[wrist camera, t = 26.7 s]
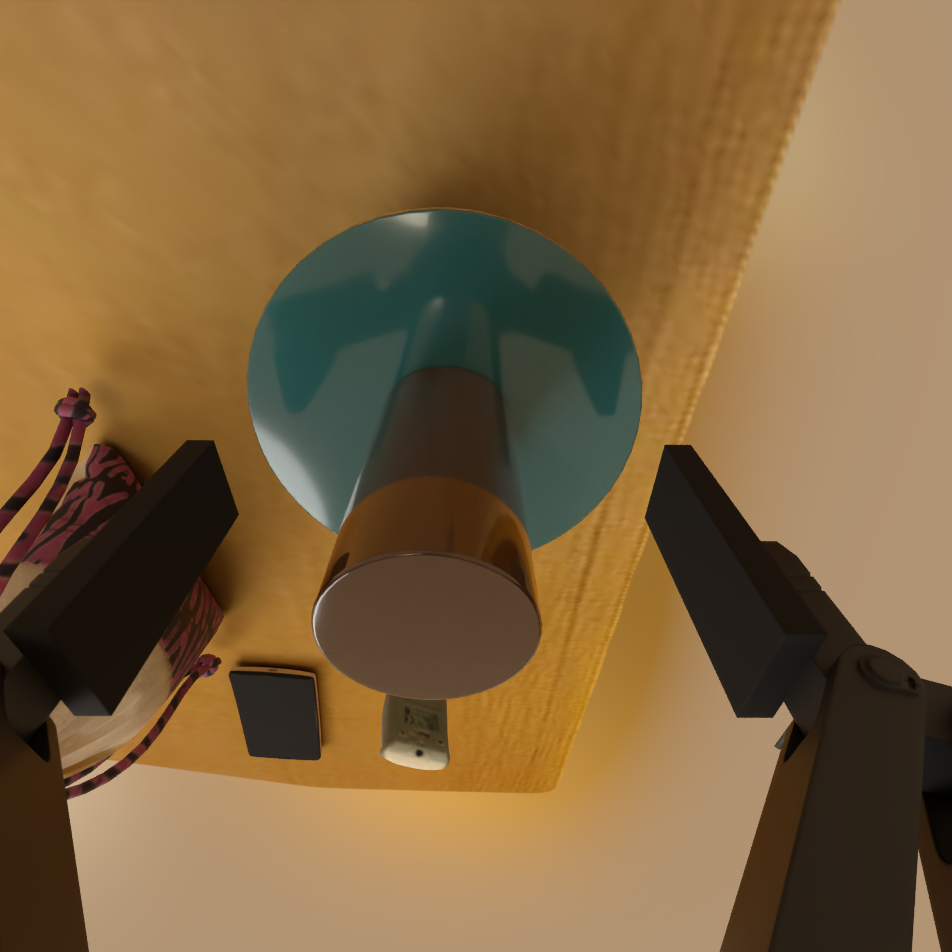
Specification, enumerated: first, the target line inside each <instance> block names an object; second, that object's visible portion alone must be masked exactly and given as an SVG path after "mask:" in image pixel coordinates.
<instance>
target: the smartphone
mask: <svg viewBox="0 0 952 952" xmlns="http://www.w3.org/2000/svg"><path fill="white" fill-rule="evenodd" d="M229 678H230V681H231V685H232V688H233V691H234V695H235V699H236V703H237V707H238V711H239V715H240V719H241V723H242V727H243V731H244V735H245V740H246V744H247V748H248V752H249V755H250V756H254V757H266V758H279V759H297V760H319V759H320V757H321V754H322V746H321V728H320V714H319V703H318V692H317V683H316V676H315V674H314V673H310V672H304V671H298V670H290V669H280V668H267V667H232V668H231V670H230V673H229Z"/></svg>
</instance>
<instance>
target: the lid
mask: <svg viewBox="0 0 952 952" xmlns="http://www.w3.org/2000/svg"><path fill="white" fill-rule="evenodd" d="M247 388H248V404H249V409H250V414H251V418H252V423H253V427H254V430H255V433H256V436H257V439H258V442H259V444H260V447H261V449H262V451H263V453H264V455H265V457H266V459H267V461H268V463H269V465H270V467H271V469H272V470H273V472H274V473H275V475H276V476H277V478H278V479H279V481H280V482H281V484H282V485H283V487H284V488H285V489H286V490H287V491H288V492H289V493H290V495H291V496H292V497H293V498H294V499H295V500H296V502H297V503H298V504H299V505H300V506H301V507H303V508H304V509H305V510H306V511H307V512H308V513H309V514H310V515H311V516H312V517H313V518H315V519H316V520H317V521H319V522H320V523H321V524H323V525H324V526H325V527H327V528H328V529H329V530H331V531H332V532H334V533H336V534H338V536H337V539H336V541H335V544H334V547H333V550H332V553H331V556H330V559H329V562H328V565H327V567H326V570H325V573H324V576H323V579H322V582H321V585H320V588H319V591H318V593H317V596H316V599H315V602H314V606H313V610H312V619H311V624H312V630H313V635H314V638H315V641H316V643H317V646H318V647H319V649H320V651H321V652H322V654H323V655H324V656H325V658H326V659H327V660H328V661H329V662H330V663H331V664H332V665H333V666H334V667H335V668H336V669H337V670H338V671H340V672H341V673H343V674H344V675H345V676H347V677H348V678H350V679H352V680H354V681H355V682H357V683H359V684H361V685H363V686H366V687H368V688H370V689H373V690H376V691H379V692H382V693H386V694H389V695H393V696H398V697H404V698H411V699H423V700H442V699H453V698H460V697H465V696H470V695H474V694H478V693H481V692H484V691H487V690H490V689H492V688H495V687H497V686H499V685H501V684H503V683H505V682H506V681H508V680H509V679H511V678H513V677H514V676H515V675H516V674H518V673H519V672H520V671H521V670H522V669H523V668H524V667H525V666H526V665H527V664H528V663H529V662H530V660H531V659H532V657H533V656H534V654H535V652H536V650H537V648H538V646H539V643H540V639H541V635H542V620H541V613H540V606H539V600H538V593H537V586H536V579H535V572H534V565H533V558H532V550H534V549H536V548H538V547H540V546H543V545H545V544H547V543H549V542H551V541H552V540H554V539H556V538H557V537H559V536H561V535H562V534H564V533H566V532H567V531H568V530H570V529H571V528H572V527H574V526H575V525H576V524H578V523H579V522H580V521H582V520H583V519H584V518H585V517H586V516H587V515H588V514H589V513H590V512H591V511H592V510H593V509H594V508H595V507H596V506H597V505H598V504H599V503H600V502H601V501H602V499H603V498H604V497H605V496H606V494H607V493H608V492H609V491H610V490H611V488H612V487H613V485H614V483H615V482H616V480H617V479H618V477H619V476H620V474H621V472H622V471H623V468H624V466H625V464H626V462H627V460H628V458H629V456H630V453H631V451H632V448H633V445H634V441H635V438H636V435H637V432H638V427H639V421H640V414H641V408H642V379H641V372H640V365H639V358H638V355H637V351H636V348H635V345H634V341H633V338H632V334H631V332H630V330H629V328H628V326H627V324H626V322H625V319H624V317H623V315H622V313H621V311H620V309H619V308H618V306H617V305H616V303H615V302H614V300H613V299H612V297H611V296H610V294H609V293H608V291H607V290H606V288H605V287H604V286H603V285H602V284H601V282H600V281H599V280H598V279H597V278H596V277H595V276H594V275H593V274H592V273H591V272H590V270H589V269H588V268H587V267H586V266H585V265H584V264H583V263H582V262H581V261H580V260H578V259H577V258H576V257H575V256H574V255H572V254H571V253H570V252H569V251H567V250H566V249H565V248H564V247H562V246H561V245H560V244H558V243H557V242H555V241H553V240H552V239H550V238H548V237H547V236H545V235H543V234H541V233H540V232H538V231H536V230H535V229H533V228H530V227H528V226H525V225H523V224H521V223H518V222H516V221H513V220H511V219H508V218H506V217H502V216H498V215H494V214H490V213H486V212H482V211H478V210H473V209H462V208H451V207H430V208H413V209H407V210H402V211H397V212H393V213H388V214H383V215H380V216H377V217H374V218H372V219H369V220H366V221H364V222H361V223H358V224H356V225H353V226H351V227H349V228H348V229H346V230H344V231H342V232H341V233H339V234H337V235H335V236H334V237H332V238H330V239H328V240H327V241H325V242H323V243H322V244H321V245H320V246H318V247H317V248H316V249H315V250H313V251H312V252H311V253H310V254H308V255H307V256H306V257H305V258H303V259H302V260H301V261H300V262H299V263H298V264H297V265H296V266H295V267H294V268H293V269H292V271H291V272H290V273H289V274H288V275H287V276H286V277H285V278H284V279H283V281H282V282H281V283H280V284H279V286H278V288H277V289H276V291H275V292H274V294H273V295H272V297H271V298H270V300H269V302H268V303H267V305H266V307H265V309H264V311H263V314H262V316H261V318H260V320H259V323H258V325H257V327H256V330H255V334H254V338H253V342H252V345H251V349H250V353H249V363H248V373H247Z"/></svg>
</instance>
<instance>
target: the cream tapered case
mask: <svg viewBox="0 0 952 952" xmlns="http://www.w3.org/2000/svg"><path fill="white" fill-rule="evenodd" d="M380 754H381V755H382V757H384V758H386V759H387V760H389V761H391V762H393V763H395V764H398V765H403V766H406V767H411V768H416V769H425V770H440V769H444V768H445V767H446V766H447V765H448V764H449V760H450V755H449V748H448V735H447V705H446V699H442V700H423V699H411V698H404V697H398V696H393V695H389V694H386V698H385V702H384V707H383V714H382V748H381V750H380Z"/></svg>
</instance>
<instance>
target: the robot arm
mask: <svg viewBox="0 0 952 952" xmlns="http://www.w3.org/2000/svg"><path fill="white" fill-rule="evenodd" d="M238 515H239V514H238V511H237V508H236V505H235V502H234V499H233V496H232V493H231V490H230V487H229V484H228V481H227V478H226V475H225V472H224V470H223V467H222V464H221V461H220V458H219V455H218V452H217V449H216V446H215V443H214V440H187V441H186V442H185V443H184V444H183V445H182V446H181V447H180V448H179V449H178V450H177V451H176V452H175V453H174V454H173V455H172V456H171V457H170V458H169V459H168V460H167V461H166V462H165V464H164V465H163V466H162V467H161V468H160V469H159V470H158V471H157V472H156V473H155V474H154V475H153V476H152V477H151V478H150V479H149V480H148V481H147V482H146V483H145V484H144V485H143V486H142V487H141V488H140V489H139V490H138V491H137V492H136V494H135V495H134V496H133V497H132V498H131V499H130V500H129V501H128V502H127V503H126V504H125V505H124V506H123V507H122V508H121V509H120V510H119V511H118V512H117V513H116V514H115V515H114V516H113V517H112V518H111V519H110V520H109V521H108V522H107V524H106V525H105V526H104V527H103V528H102V529H101V530H100V531H99V532H98V533H97V534H96V535H95V536H94V537H93V538H83V539H82V540H80V541H78V542H77V543H75V544H74V545H72V546H70V547H69V548H67V549H66V550H64V551H62V552H61V553H60V554H59V555H58V556H57V557H56V558H55V559H54V560H53V561H52V562H51V563H50V564H49V565H48V566H47V567H46V568H45V569H44V570H43V573H40V574H39V575H38V576H37V577H36V578H35V579H34V580H33V581H31V582H30V583H29V587H28V588H24V589H23V590H22V591H21V592H20V593H19V594H18V595H17V596H16V597H15V598H14V599H13V600H12V601H11V602H10V603H9V604H8V605H7V606H6V607H5V608H4V609H3V610H2V611H1V612H0V952H89V950H88V943H87V935H86V929H85V922H84V915H83V908H82V901H81V894H80V887H79V881H78V873H77V867H76V860H75V853H74V846H73V839H72V832H71V825H70V819H69V812H68V806H67V798H66V791H65V784H64V777H63V770H62V763H61V757H60V750H59V743H58V736H57V729H56V725H55V723H54V722H53V720H52V718H51V717H50V716H49V715H50V714H51V713H52V711H53V710H54V709H55V707H56V706H57V705H58V703H59V702H60V701H62V702H63V703H64V704H65V705H66V707H67V708H68V709H69V710H70V711H71V713H72V714H73V715H74V716H112V715H113V713H114V711H115V710H116V708H117V707H118V705H119V703H120V702H121V700H122V699H123V697H124V696H125V694H126V692H127V691H128V689H129V688H130V686H131V684H132V683H133V681H134V680H135V678H136V677H137V675H138V673H139V672H140V670H141V669H142V667H143V665H144V664H145V662H146V661H147V659H148V658H149V656H150V654H151V653H152V651H153V650H154V648H155V646H156V645H157V643H158V642H159V640H160V639H161V637H162V635H163V634H164V632H165V631H166V629H167V627H168V626H169V624H170V623H171V621H172V620H173V618H174V616H175V615H176V613H177V612H178V610H179V609H180V607H181V605H182V604H183V602H184V601H185V599H186V597H187V596H188V594H189V593H190V591H191V590H192V588H193V586H194V585H195V583H196V582H197V580H198V578H199V577H200V575H201V574H202V572H203V571H204V569H205V567H206V566H207V564H208V563H209V561H210V559H211V558H212V556H213V555H214V553H215V552H216V550H217V548H218V547H219V545H220V544H221V542H222V540H223V539H224V537H225V536H226V534H227V533H228V531H229V529H230V528H231V526H232V525H233V523H234V521H235V520H236V518H237V517H238ZM645 519H646V521H647V524H648V526H649V528H650V530H651V532H652V534H653V537H654V539H655V541H656V543H657V545H658V547H659V549H660V552H661V554H662V556H663V558H664V560H665V562H666V564H667V567H668V569H669V571H670V573H671V575H672V577H673V580H674V582H675V584H676V586H677V589H678V591H679V593H680V595H681V597H682V599H683V602H684V604H685V606H686V608H687V610H688V612H689V614H690V617H691V619H692V621H693V623H694V625H695V628H696V630H697V632H698V634H699V636H700V638H701V641H702V643H703V645H704V647H705V649H706V652H707V654H708V656H709V658H710V660H711V662H712V664H713V667H714V669H715V671H716V673H717V675H718V677H719V680H720V682H721V684H722V686H723V688H724V690H725V693H726V695H727V697H728V699H729V701H730V703H731V706H732V708H733V710H734V712H735V714H736V716H737V718H740V717H741V718H742V717H743V718H753V717H754V718H756V717H757V718H773V717H774V715H775V714H776V712H777V710H778V709H779V707H780V706H781V705H782V703H783V702H785V704H786V706H787V708H788V710H789V711H790V713H791V715H792V717H793V719H794V720H793V721H792V722H791V724H790V725H789V726H788V728H787V729H786V731H785V732H784V733H783V735H782V736H781V738H780V739H779V740H778V742H777V743H776V745H775V747H776V748H778V749H781V752H780V755H779V758H778V761H777V765H776V768H775V771H774V775H773V778H772V781H771V785H770V788H769V791H768V794H767V798H766V801H765V805H764V808H763V811H762V814H761V818H760V821H759V824H758V827H757V831H756V834H755V837H754V840H753V844H752V847H751V851H750V854H749V857H748V860H747V864H746V867H745V870H744V873H743V877H742V880H741V883H740V887H739V890H738V893H737V896H736V900H735V903H734V906H733V910H732V913H731V916H730V920H729V923H728V926H727V929H726V933H725V936H724V939H723V943H722V946H721V949H720V952H912V939H913V938H912V937H913V922H914V906H915V890H916V874H917V860H918V849H919V853H920V858H921V863H922V867H923V871H924V876H925V881H926V885H927V890H928V894H929V899H930V903H931V908H932V912H933V916H934V921H935V925H936V930H937V934H938V939H939V944H940V948H941V952H952V687H951V686H947V685H944V684H940V683H936V682H932V681H928V680H925V679H921V678H920V677H919V676H918V674H917V673H916V672H915V671H914V670H913V669H912V668H911V667H910V666H909V665H907V664H906V663H905V662H904V661H903V660H901V659H900V658H898V657H896V656H895V655H893V654H891V653H889V652H888V651H886V650H883V649H880V648H877V647H874V646H871V645H867V644H866V643H865V642H864V641H863V640H862V638H861V637H860V636H859V634H858V633H857V632H856V631H855V629H854V628H853V627H852V626H851V624H850V623H849V622H848V620H847V619H846V618H845V617H844V615H843V614H842V613H841V612H840V611H839V609H838V608H837V607H836V605H835V604H834V603H833V601H832V600H831V599H830V598H829V596H828V595H827V594H826V593H825V591H822V590H821V586H820V585H819V584H818V583H817V581H816V580H815V579H814V577H811V576H810V572H809V571H808V570H807V568H806V567H805V566H804V565H803V563H802V562H801V561H800V559H799V558H798V557H797V556H796V555H795V554H793V553H792V552H790V551H789V550H788V549H786V548H785V547H784V546H782V545H781V544H780V543H778V542H777V541H760V540H759V538H758V537H757V536H756V534H755V533H754V532H753V530H752V529H751V527H750V526H749V525H748V523H747V522H746V520H745V519H744V518H743V517H742V515H741V514H740V512H739V511H738V509H737V508H736V507H735V505H734V504H733V503H732V501H731V500H730V498H729V497H728V496H727V494H726V493H725V491H724V490H723V489H722V487H721V486H720V485H719V483H718V482H717V480H716V479H715V478H714V476H713V475H712V474H711V472H710V471H709V470H708V468H707V467H706V465H705V464H704V462H703V461H702V460H701V458H700V457H699V456H698V454H697V453H696V451H695V450H694V449H693V447H692V446H691V445H665V446H664V450H663V453H662V457H661V461H660V464H659V468H658V472H657V475H656V479H655V483H654V486H653V490H652V494H651V497H650V501H649V505H648V508H647V512H646V515H645Z"/></svg>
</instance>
